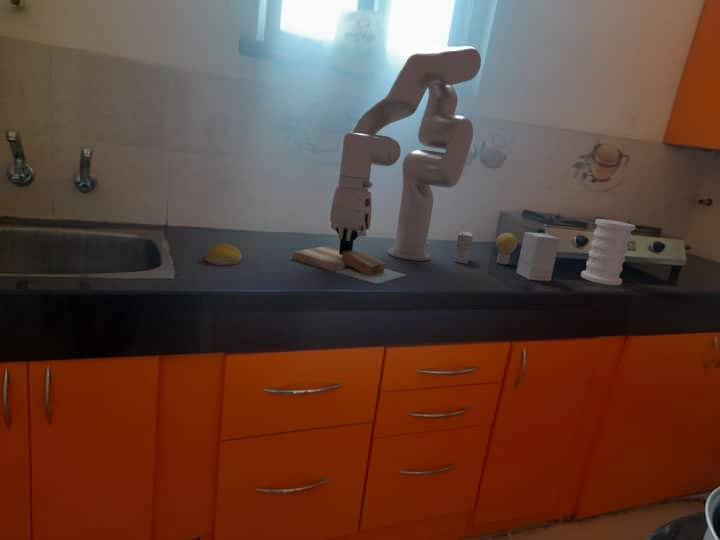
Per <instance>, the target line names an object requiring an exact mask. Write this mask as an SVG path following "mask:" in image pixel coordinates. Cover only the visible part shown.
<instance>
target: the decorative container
mask: <svg viewBox="0 0 720 540" xmlns="http://www.w3.org/2000/svg"><path fill="white" fill-rule="evenodd" d="M594 224H595V225H596V227H595V229H594V231H593V240H592V241H591V243H590V245H591V249H590V250H589V252H588V256H589V257H588V260H586V265H585V266H586V267H585V270H582V271H581V273H580V277H582V279H584V280H587V281H591V282H594V283H598V284H602V285H609V286H621V285H622V284H623V279H622V278H621V277H620V274H621V273H622V272H623V263H624V262H625V260H626V257H625V256H626V255H625V254H626V253H627V251H628V250H629V246H628V244H629V242H630V241H631V238H632V237H631V232H632V231H635V229H636V225H635V224H632V223H627V222H625V221H624V222H623V221H619V220H614V219H613V220H612V219H606V218H605V219H603V218H596V219H595V221H594Z"/></svg>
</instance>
